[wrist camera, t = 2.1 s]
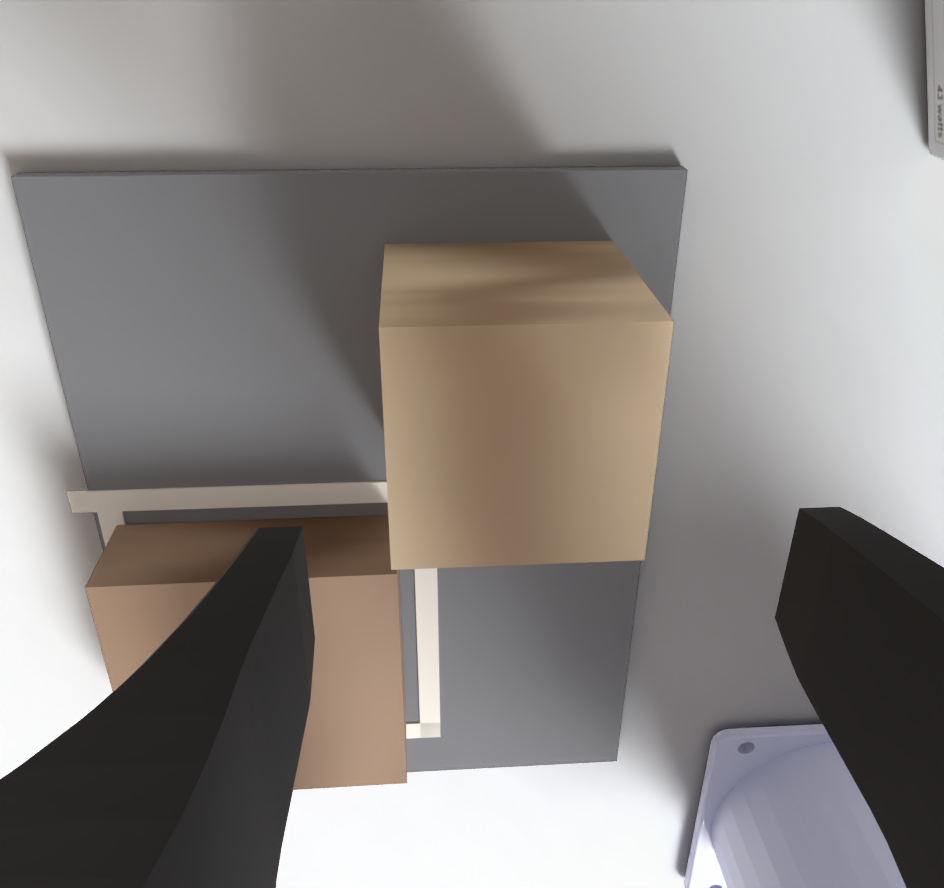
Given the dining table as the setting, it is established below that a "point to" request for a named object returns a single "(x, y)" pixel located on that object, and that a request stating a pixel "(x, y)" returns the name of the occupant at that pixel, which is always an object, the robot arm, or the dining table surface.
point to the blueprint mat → (332, 401)
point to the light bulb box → (935, 75)
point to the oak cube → (519, 403)
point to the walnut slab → (334, 617)
